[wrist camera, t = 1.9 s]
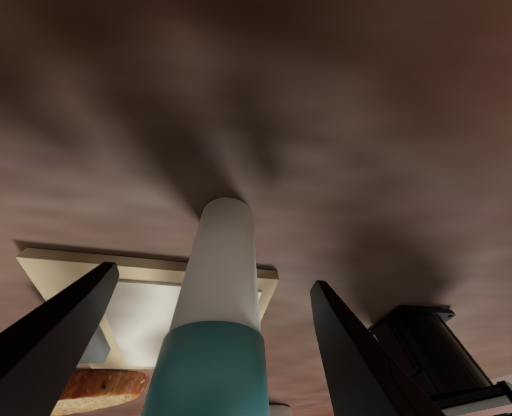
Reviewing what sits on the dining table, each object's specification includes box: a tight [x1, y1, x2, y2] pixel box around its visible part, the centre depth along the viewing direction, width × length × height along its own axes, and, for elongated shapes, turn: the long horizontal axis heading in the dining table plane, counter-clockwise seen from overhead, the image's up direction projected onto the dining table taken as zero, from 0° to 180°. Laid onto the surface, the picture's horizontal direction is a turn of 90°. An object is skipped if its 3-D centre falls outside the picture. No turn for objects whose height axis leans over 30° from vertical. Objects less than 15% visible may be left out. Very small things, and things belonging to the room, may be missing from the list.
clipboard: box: [16, 248, 279, 369], centre depth 19 cm, size 17×19×2 cm
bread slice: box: [50, 370, 149, 416], centre depth 26 cm, size 18×18×4 cm
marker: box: [141, 197, 270, 416], centre depth 9 cm, size 3×3×9 cm
